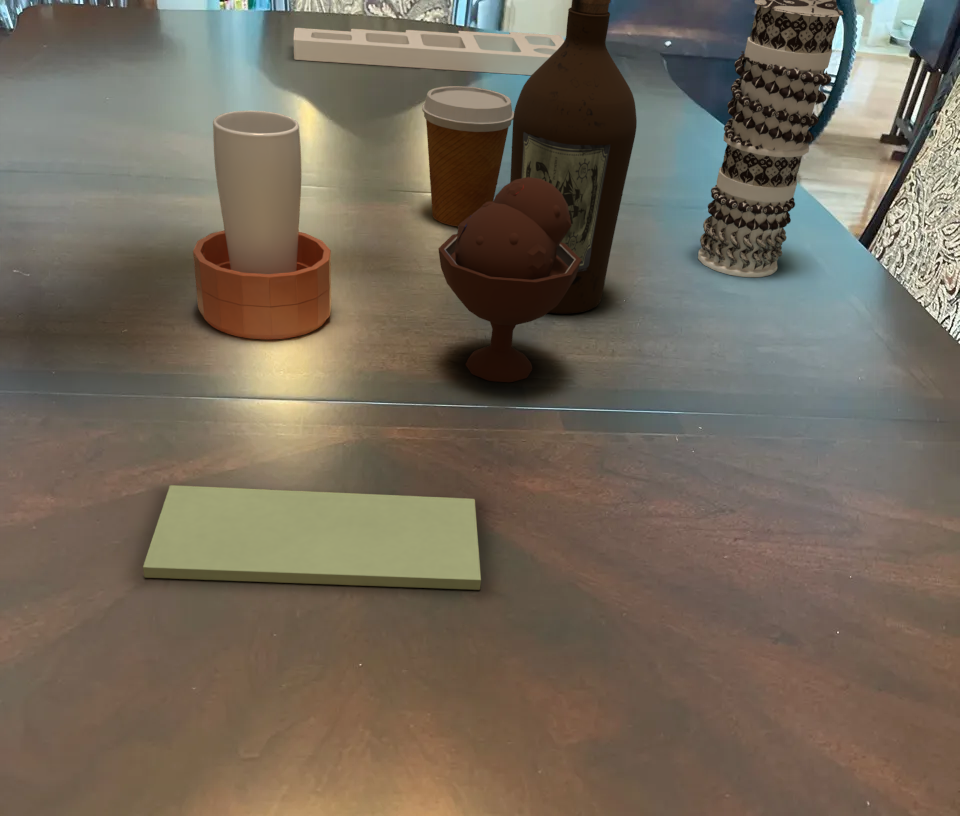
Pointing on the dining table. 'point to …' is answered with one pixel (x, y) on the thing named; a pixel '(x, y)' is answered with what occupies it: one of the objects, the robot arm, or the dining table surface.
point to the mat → (315, 538)
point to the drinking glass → (259, 189)
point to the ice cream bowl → (511, 268)
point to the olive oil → (579, 142)
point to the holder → (429, 49)
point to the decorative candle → (768, 134)
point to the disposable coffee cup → (464, 148)
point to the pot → (263, 291)
